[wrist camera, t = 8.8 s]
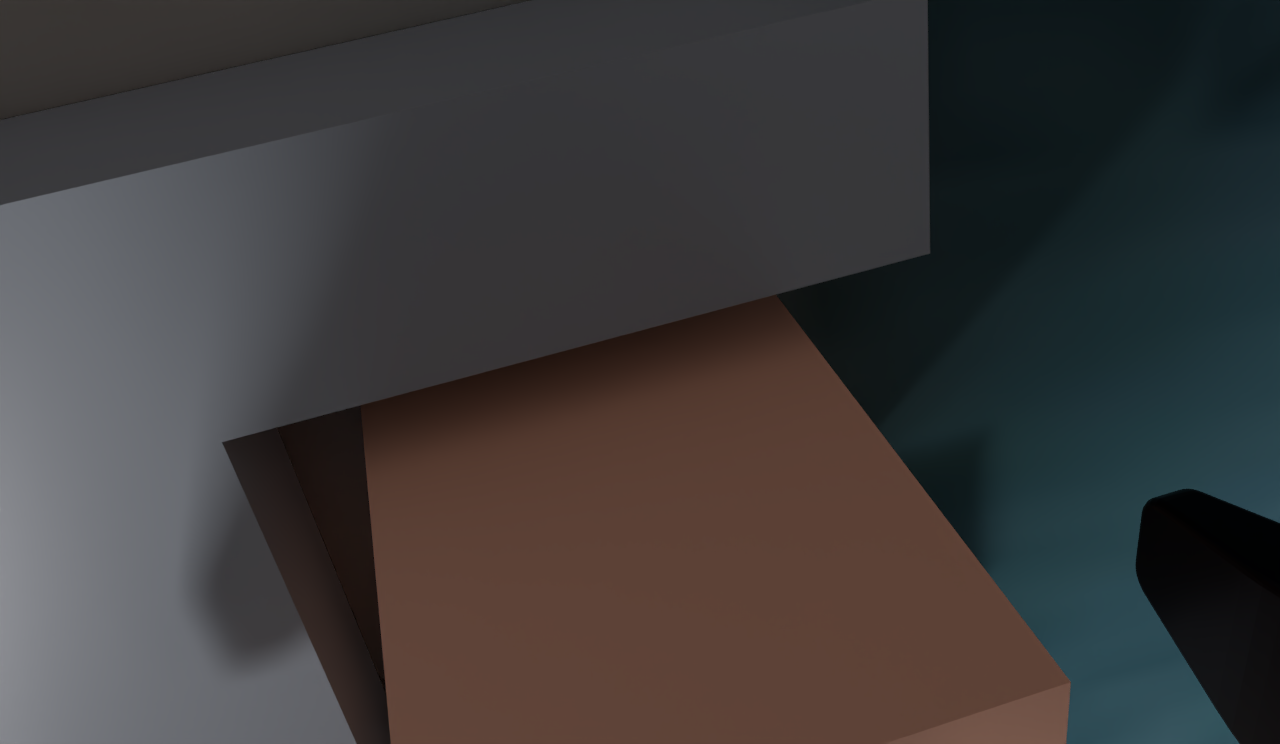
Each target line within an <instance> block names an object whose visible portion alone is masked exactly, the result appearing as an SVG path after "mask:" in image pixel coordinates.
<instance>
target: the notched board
mask: <svg viewBox="0 0 1280 744" xmlns="http://www.w3.org/2000/svg"><path fill="white" fill-rule="evenodd" d="M926 254H930V184H929V83H928V0H531V1H526V2H522V3H517V4H513V5H509V6H504V7H500V8H495V9H491V10H486V11H482V12H478V13H473V14H469V15H464V16H460V17H455V18H451V19H447V20H442V21H438V22H433V23H429V24H424V25H420V26H416V27H411V28H407V29H402V30H398V31H393V32H389V33H384V34H380V35H376V36H371V37H367V38H362V39H358V40H353V41H349V42H345V43H340V44H336V45H331V46H327V47H322V48H318V49H314V50H309V51H305V52H300V53H296V54H291V55H287V56H283V57H278V58H274V59H269V60H265V61H260V62H256V63H251V64H247V65H243V66H238V67H234V68H229V69H225V70H220V71H216V72H212V73H207V74H203V75H198V76H194V77H189V78H185V79H181V80H176V81H172V82H167V83H163V84H158V85H154V86H150V87H145V88H141V89H136V90H132V91H127V92H123V93H118V94H114V95H110V96H105V97H101V98H96V99H92V100H87V101H83V102H79V103H74V104H70V105H65V106H61V107H56V108H52V109H48V110H43V111H39V112H34V113H30V114H25V115H21V116H17V117H12V118H8V119H3V120H0V744H391V740H390V729H389V718H388V707H387V696H386V693H385V691H384V688H383V686H382V684H381V681H380V679H379V676H378V674H377V671H376V669H375V666H374V664H373V662H372V659H371V657H370V654H369V652H368V649H367V647H366V644H365V642H364V640H363V637H362V635H361V632H360V630H359V627H358V625H357V622H356V620H355V618H354V615H353V613H352V610H351V608H350V605H349V603H348V600H347V598H346V596H345V593H344V591H343V588H342V586H341V583H340V581H339V578H338V576H337V574H336V571H335V569H334V566H333V564H332V561H331V559H330V557H329V554H328V552H327V549H326V547H325V544H324V542H323V539H322V537H321V535H320V532H319V530H318V527H317V525H316V522H315V520H314V517H313V515H312V513H311V510H310V508H309V505H308V503H307V500H306V498H305V495H304V493H303V491H302V488H301V486H300V483H299V481H298V478H297V476H296V473H295V471H294V469H293V466H292V464H291V461H290V459H289V456H288V454H287V451H286V449H285V447H284V444H283V442H282V439H281V437H280V434H279V432H278V429H277V427H281V426H285V425H288V424H292V423H296V422H300V421H303V420H307V419H311V418H315V417H318V416H322V415H326V414H330V413H333V412H337V411H341V410H345V409H348V408H352V407H356V406H360V405H363V404H367V403H371V402H375V401H378V400H382V399H386V398H390V397H393V396H397V395H401V394H405V393H408V392H412V391H416V390H420V389H423V388H427V387H431V386H435V385H438V384H442V383H446V382H450V381H453V380H457V379H461V378H465V377H468V376H472V375H476V374H480V373H483V372H487V371H491V370H495V369H498V368H502V367H506V366H510V365H513V364H517V363H521V362H525V361H528V360H532V359H536V358H540V357H543V356H547V355H551V354H555V353H558V352H562V351H566V350H570V349H573V348H577V347H581V346H585V345H588V344H592V343H596V342H600V341H603V340H607V339H611V338H615V337H618V336H622V335H626V334H630V333H633V332H637V331H641V330H645V329H648V328H652V327H656V326H660V325H663V324H667V323H671V322H675V321H678V320H682V319H686V318H690V317H693V316H697V315H701V314H705V313H709V312H712V311H716V310H720V309H724V308H727V307H731V306H735V305H739V304H742V303H746V302H750V301H754V300H757V299H761V298H765V297H769V296H772V295H776V294H780V293H784V292H787V291H791V290H795V289H799V288H802V287H806V286H810V285H814V284H817V283H821V282H825V281H829V280H832V279H836V278H840V277H844V276H847V275H851V274H855V273H859V272H862V271H866V270H870V269H874V268H877V267H881V266H885V265H889V264H892V263H896V262H900V261H904V260H907V259H911V258H915V257H919V256H922V255H926Z"/></svg>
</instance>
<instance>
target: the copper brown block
mask: <svg viewBox="0 0 1280 744" xmlns="http://www.w3.org/2000/svg"><path fill="white" fill-rule="evenodd" d="M360 407H361V418H362V429H363V440H364V451H365V462H366V473H367V485H368V496H369V507H370V518H371V529H372V540H373V551H374V562H375V574H376V585H377V596H378V607H379V618H380V629H381V640H382V651H383V662H384V674H385V685H386V696H387V707H388V718H389V729H390V740H391V744H1066V736H1067V723H1068V710H1069V697H1070V684H1071V682H1070V681H1069V679H1068V678H1067V677H1066V675H1065V674H1064V673H1063V671H1062V670H1061V669H1060V667H1059V666H1058V665H1057V663H1056V662H1055V661H1054V660H1053V658H1052V657H1051V656H1050V654H1049V653H1048V652H1047V650H1046V649H1045V648H1044V646H1043V645H1042V644H1041V642H1040V641H1039V640H1038V638H1037V637H1036V636H1035V635H1034V633H1033V632H1032V631H1031V629H1030V628H1029V627H1028V625H1027V624H1026V623H1025V621H1024V620H1023V619H1022V617H1021V616H1020V615H1019V614H1018V612H1017V611H1016V610H1015V608H1014V607H1013V606H1012V604H1011V603H1010V602H1009V600H1008V599H1007V598H1006V596H1005V595H1004V594H1003V592H1002V591H1001V590H1000V589H999V587H998V586H997V585H996V583H995V582H994V581H993V579H992V578H991V577H990V575H989V574H988V573H987V571H986V570H985V569H984V568H983V566H982V565H981V564H980V562H979V561H978V560H977V558H976V557H975V556H974V554H973V553H972V552H971V550H970V549H969V548H968V546H967V545H966V544H965V543H964V541H963V540H962V539H961V537H960V536H959V535H958V533H957V532H956V531H955V529H954V528H953V527H952V525H951V524H950V523H949V522H948V520H947V519H946V518H945V516H944V515H943V514H942V512H941V511H940V510H939V508H938V507H937V506H936V504H935V503H934V502H933V500H932V499H931V498H930V497H929V495H928V494H927V493H926V491H925V490H924V489H923V487H922V486H921V485H920V483H919V482H918V481H917V479H916V478H915V477H914V476H913V474H912V473H911V472H910V470H909V469H908V468H907V466H906V465H905V464H904V462H903V461H902V460H901V458H900V457H899V456H898V455H897V453H896V452H895V451H894V449H893V448H892V447H891V445H890V444H889V443H888V441H887V440H886V439H885V437H884V436H883V435H882V433H881V432H880V431H879V430H878V428H877V427H876V426H875V424H874V423H873V422H872V420H871V419H870V418H869V416H868V415H867V414H866V412H865V411H864V410H863V409H862V407H861V406H860V405H859V403H858V402H857V401H856V399H855V398H854V397H853V395H852V394H851V393H850V391H849V390H848V389H847V387H846V386H845V385H844V384H843V382H842V381H841V380H840V378H839V377H838V376H837V374H836V373H835V372H834V370H833V369H832V368H831V366H830V365H829V364H828V363H827V361H826V360H825V359H824V357H823V356H822V355H821V353H820V352H819V351H818V349H817V348H816V347H815V345H814V344H813V343H812V341H811V340H810V339H809V338H808V336H807V335H806V334H805V332H804V331H803V330H802V328H801V327H800V326H799V324H798V323H797V322H796V320H795V319H794V318H793V317H792V315H791V314H790V313H789V311H788V310H787V309H786V307H785V306H784V305H783V303H782V302H781V301H780V299H779V298H778V297H777V295H772V296H769V297H765V298H761V299H757V300H754V301H750V302H746V303H742V304H739V305H735V306H731V307H727V308H724V309H720V310H716V311H712V312H709V313H705V314H701V315H697V316H693V317H690V318H686V319H682V320H678V321H675V322H671V323H667V324H663V325H660V326H656V327H652V328H648V329H645V330H641V331H637V332H633V333H630V334H626V335H622V336H618V337H615V338H611V339H607V340H603V341H600V342H596V343H592V344H588V345H585V346H581V347H577V348H573V349H570V350H566V351H562V352H558V353H555V354H551V355H547V356H543V357H540V358H536V359H532V360H528V361H525V362H521V363H517V364H513V365H510V366H506V367H502V368H498V369H495V370H491V371H487V372H483V373H480V374H476V375H472V376H468V377H465V378H461V379H457V380H453V381H450V382H446V383H442V384H438V385H435V386H431V387H427V388H423V389H420V390H416V391H412V392H408V393H405V394H401V395H397V396H393V397H390V398H386V399H382V400H378V401H375V402H371V403H367V404H363V405H360Z"/></svg>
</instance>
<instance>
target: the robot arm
mask: <svg viewBox="0 0 1280 744" xmlns="http://www.w3.org/2000/svg"><path fill="white" fill-rule="evenodd" d="M1136 573H1137V577H1138V581H1139V583H1140V586H1141V588H1142V590H1143V592H1144V594H1145V595H1146V597H1147V598H1148V600H1149V602H1150V603H1151V605H1152V607H1153V608H1154V610H1155V611H1156V613H1157V615H1158V616H1159V618H1160V619H1161V621H1162V623H1163V624H1164V626H1165V628H1166V629H1167V631H1168V632H1169V634H1170V636H1171V637H1172V639H1173V640H1174V642H1175V644H1176V645H1177V647H1178V648H1179V650H1180V652H1181V653H1182V655H1183V657H1184V658H1185V660H1186V661H1187V663H1188V665H1189V666H1190V668H1191V669H1192V671H1193V673H1194V674H1195V676H1196V678H1197V679H1198V681H1199V682H1200V684H1201V686H1202V687H1203V689H1204V690H1205V692H1206V694H1207V695H1208V697H1209V699H1210V700H1211V702H1212V703H1213V705H1214V707H1215V708H1216V710H1217V711H1218V713H1219V714H1220V716H1221V717H1222V719H1223V720H1224V722H1225V723H1226V725H1227V726H1228V728H1229V729H1230V731H1231V732H1232V734H1233V735H1234V736H1235V738H1236V739H1237V741H1238V742H1239V743H1240V744H1280V523H1278V522H1276V521H1273V520H1271V519H1268V518H1266V517H1263V516H1261V515H1258V514H1256V513H1253V512H1251V511H1248V510H1246V509H1243V508H1241V507H1238V506H1236V505H1233V504H1231V503H1228V502H1226V501H1223V500H1221V499H1218V498H1216V497H1213V496H1211V495H1208V494H1206V493H1203V492H1200V491H1197V490H1194V489H1182V490H1178V491H1175V492H1171V493H1168V494H1165V495H1161V496H1158V497H1155V498H1152V499H1150V500H1149V501H1147V503H1146V504H1145V506H1144V507H1143V510H1142V516H1141V524H1140V532H1139V540H1138V548H1137V556H1136Z"/></svg>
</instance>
